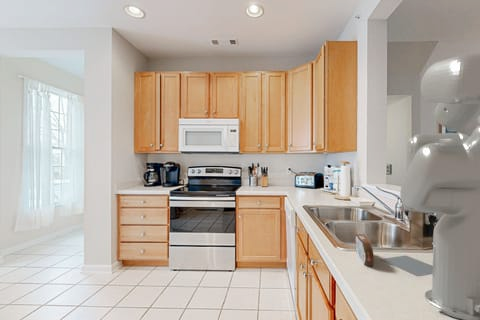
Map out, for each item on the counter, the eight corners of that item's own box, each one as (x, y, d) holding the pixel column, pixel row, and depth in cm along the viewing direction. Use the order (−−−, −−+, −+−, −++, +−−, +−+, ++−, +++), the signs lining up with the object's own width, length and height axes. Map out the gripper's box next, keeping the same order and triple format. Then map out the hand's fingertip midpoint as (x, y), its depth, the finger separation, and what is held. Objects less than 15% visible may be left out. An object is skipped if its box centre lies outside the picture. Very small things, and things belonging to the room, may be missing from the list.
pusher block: (432, 247, 85) (431, 201, 85) (422, 248, 83) (422, 201, 84) (419, 243, 88) (419, 199, 89) (410, 244, 87) (410, 200, 88)
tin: (374, 270, 86) (375, 244, 86) (363, 270, 86) (364, 243, 86) (363, 254, 101) (363, 231, 100) (354, 253, 101) (354, 230, 101)
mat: (446, 273, 84) (446, 271, 84) (417, 278, 80) (417, 276, 80) (405, 257, 97) (406, 255, 97) (379, 261, 93) (379, 259, 93)
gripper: (457, 177, 80) (457, 241, 79) (406, 175, 96) (406, 228, 95) (439, 177, 77) (439, 242, 77) (389, 175, 93) (389, 229, 93)
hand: (421, 234), depth 86 cm, fingers closed on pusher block, 4 cm apart
